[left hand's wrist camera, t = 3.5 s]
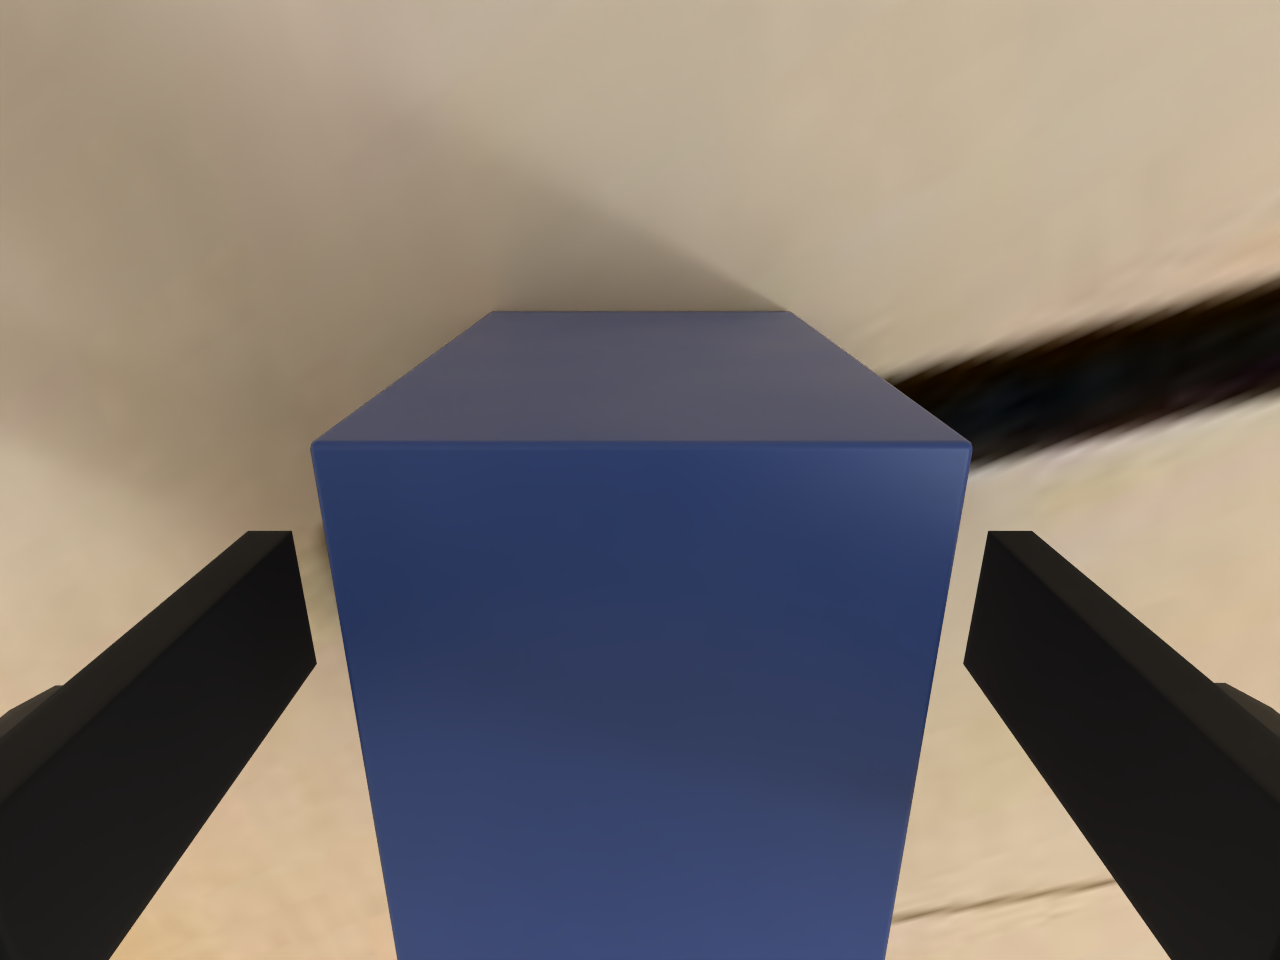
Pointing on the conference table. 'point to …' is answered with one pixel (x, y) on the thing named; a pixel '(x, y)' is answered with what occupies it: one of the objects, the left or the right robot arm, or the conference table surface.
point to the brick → (641, 635)
